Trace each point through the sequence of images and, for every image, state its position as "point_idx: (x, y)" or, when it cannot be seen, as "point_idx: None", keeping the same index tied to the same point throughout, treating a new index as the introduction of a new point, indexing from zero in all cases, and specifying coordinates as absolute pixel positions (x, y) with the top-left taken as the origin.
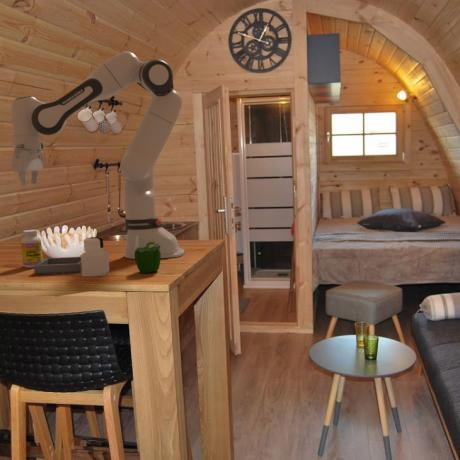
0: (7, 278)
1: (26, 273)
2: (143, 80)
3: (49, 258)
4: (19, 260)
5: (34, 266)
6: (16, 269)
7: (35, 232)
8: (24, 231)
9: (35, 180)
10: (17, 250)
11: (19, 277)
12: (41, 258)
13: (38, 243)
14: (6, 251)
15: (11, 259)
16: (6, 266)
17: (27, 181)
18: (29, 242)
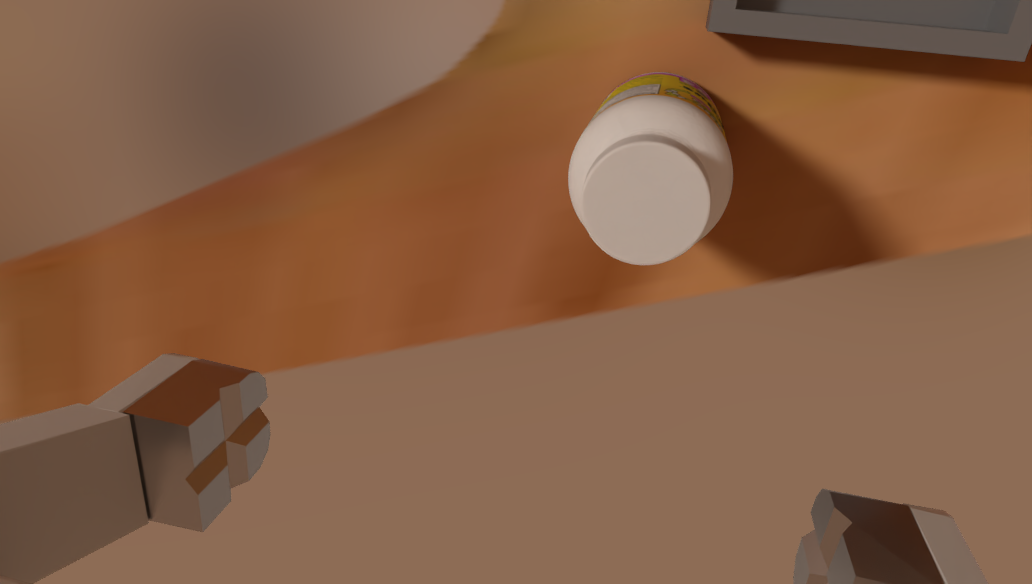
0: (1016, 221)
1: (902, 128)
2: None
3: (735, 1)
4: (429, 264)
5: (1024, 56)
6: (722, 225)
7: (681, 147)
8: (680, 250)
9: (218, 415)
10: (132, 333)
11: (1029, 147)
12: (673, 78)
13: (697, 105)
14: None
15: (388, 315)
16: (597, 303)
17: (882, 552)
18: (731, 176)
